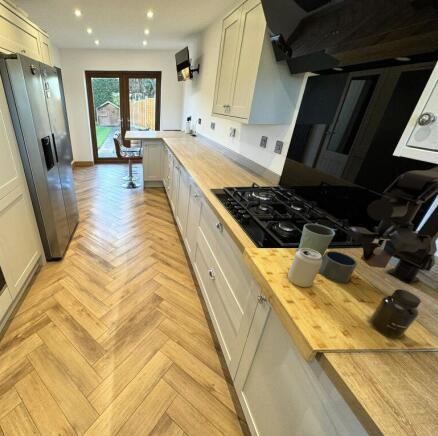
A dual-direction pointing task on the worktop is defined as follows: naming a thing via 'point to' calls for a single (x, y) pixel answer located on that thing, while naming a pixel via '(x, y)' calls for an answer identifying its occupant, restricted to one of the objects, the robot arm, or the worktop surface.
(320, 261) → the can
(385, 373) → the worktop surface
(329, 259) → the cup
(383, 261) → the brown cube
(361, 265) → the worktop surface
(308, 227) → the green tapered tumbler
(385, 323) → the supplement bottle
